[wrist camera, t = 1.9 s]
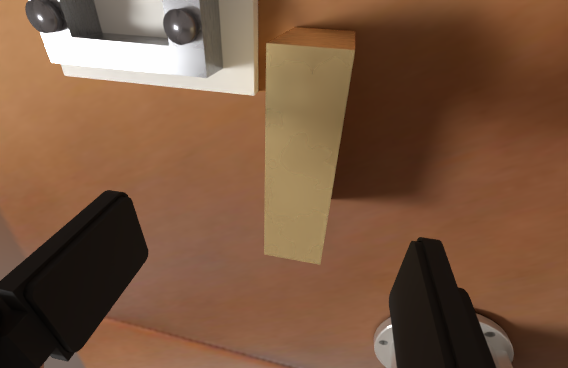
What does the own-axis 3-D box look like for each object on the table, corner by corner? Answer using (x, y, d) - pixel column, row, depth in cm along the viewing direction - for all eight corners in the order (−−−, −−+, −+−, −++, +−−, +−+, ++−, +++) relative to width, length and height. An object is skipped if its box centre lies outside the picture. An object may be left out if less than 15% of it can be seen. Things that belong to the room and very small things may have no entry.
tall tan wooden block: (355, 30, 17) (355, 50, 11) (328, 198, 24) (320, 264, 18) (295, 26, 18) (266, 42, 12) (285, 191, 24) (264, 254, 18)
